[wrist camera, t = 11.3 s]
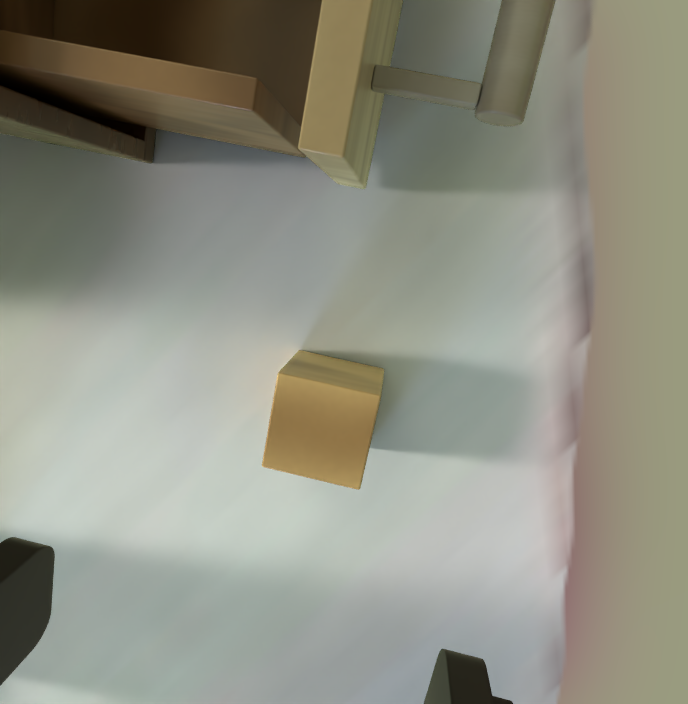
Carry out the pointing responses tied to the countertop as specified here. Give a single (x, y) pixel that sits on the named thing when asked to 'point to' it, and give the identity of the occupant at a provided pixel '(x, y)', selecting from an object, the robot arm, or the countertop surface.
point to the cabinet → (73, 128)
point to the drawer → (255, 69)
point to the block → (323, 418)
